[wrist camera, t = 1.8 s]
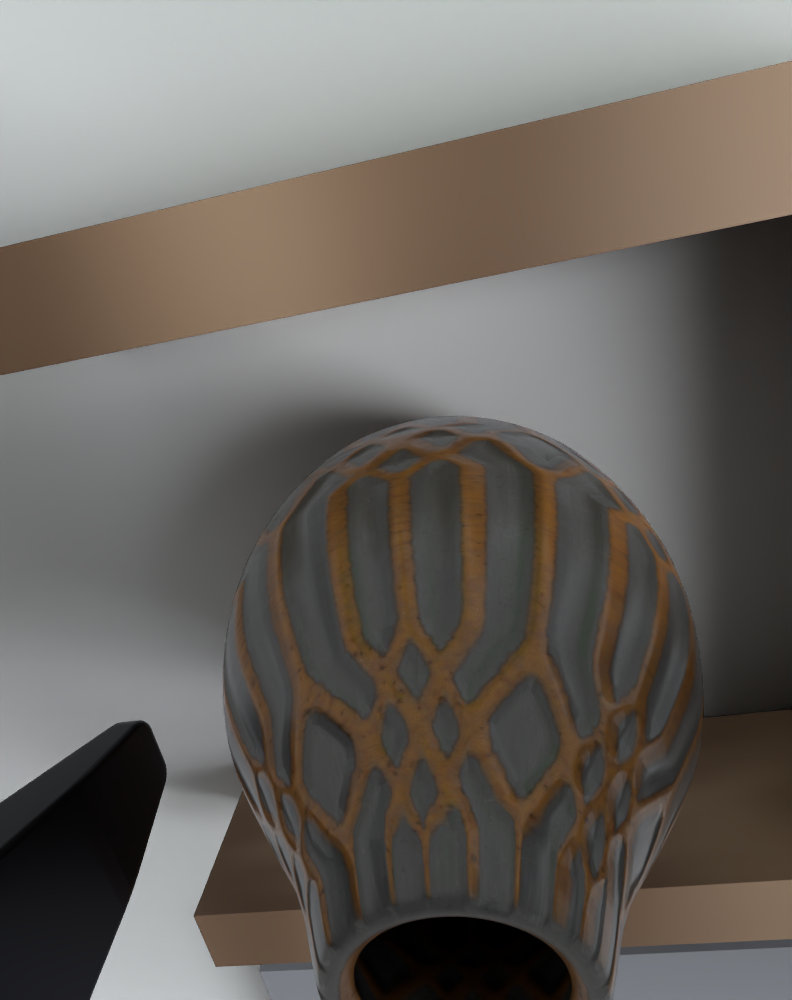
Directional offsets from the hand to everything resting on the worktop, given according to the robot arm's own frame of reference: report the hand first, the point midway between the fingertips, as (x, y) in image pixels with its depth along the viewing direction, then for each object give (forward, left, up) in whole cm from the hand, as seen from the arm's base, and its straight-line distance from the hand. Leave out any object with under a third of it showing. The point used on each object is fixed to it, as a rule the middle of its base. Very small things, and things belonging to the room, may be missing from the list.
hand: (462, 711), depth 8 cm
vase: (0, 0, -6) cm, 6 cm away
